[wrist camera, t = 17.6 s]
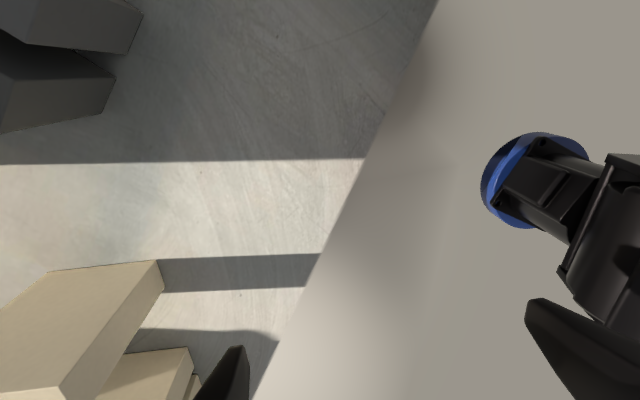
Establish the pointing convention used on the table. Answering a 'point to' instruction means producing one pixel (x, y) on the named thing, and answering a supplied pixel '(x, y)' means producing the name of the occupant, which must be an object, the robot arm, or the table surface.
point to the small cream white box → (73, 329)
